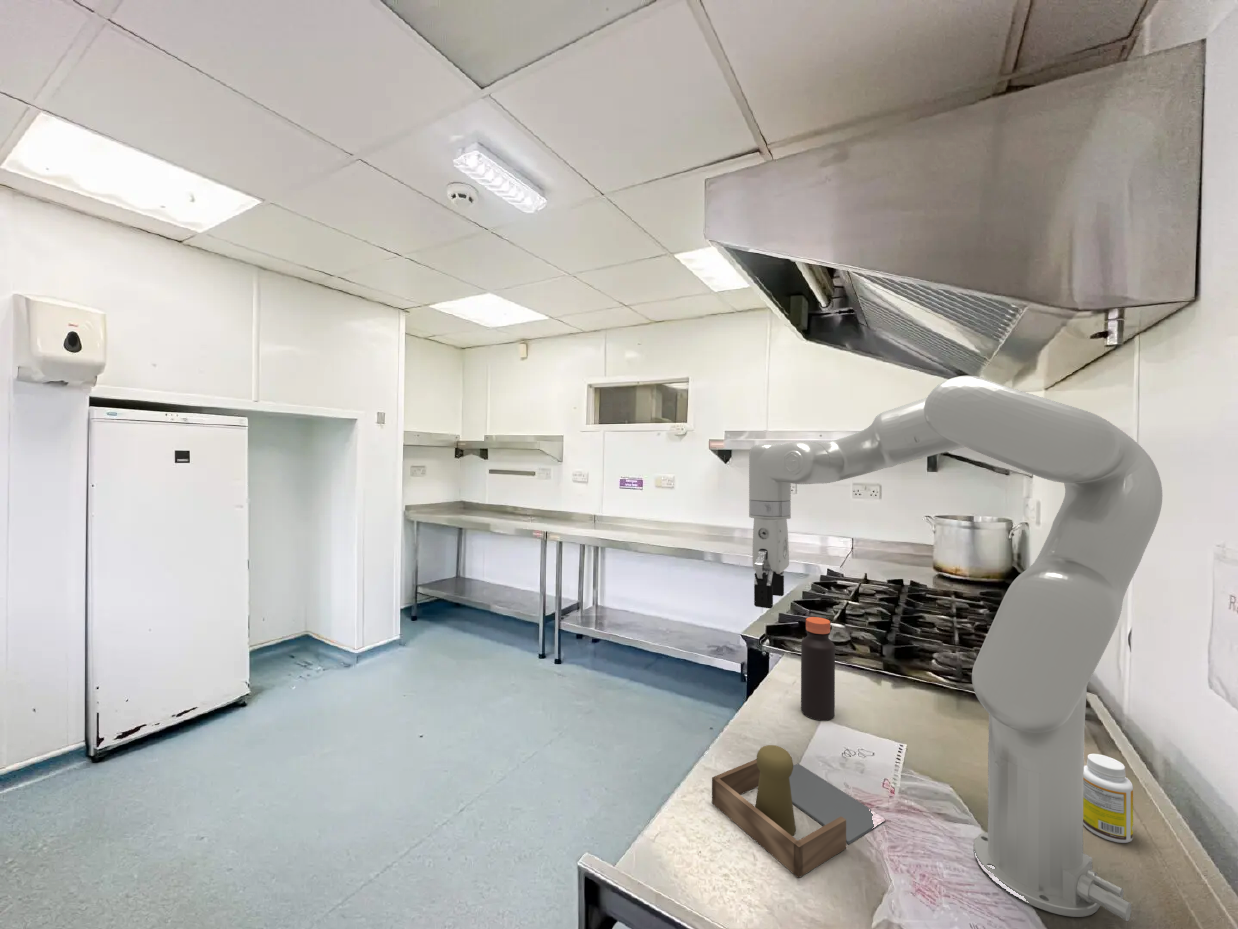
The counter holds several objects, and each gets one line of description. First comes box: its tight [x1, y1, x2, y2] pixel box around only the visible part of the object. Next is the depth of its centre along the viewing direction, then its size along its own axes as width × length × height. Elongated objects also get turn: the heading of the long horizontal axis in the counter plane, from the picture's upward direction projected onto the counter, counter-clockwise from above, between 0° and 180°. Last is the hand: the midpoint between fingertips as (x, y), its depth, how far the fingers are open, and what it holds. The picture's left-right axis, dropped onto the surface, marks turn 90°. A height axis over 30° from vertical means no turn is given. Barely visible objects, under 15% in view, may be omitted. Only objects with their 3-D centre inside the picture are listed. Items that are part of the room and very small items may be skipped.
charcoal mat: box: [789, 763, 874, 845], centre depth 79 cm, size 16×9×1 cm, turn 31°
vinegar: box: [800, 616, 836, 722], centre depth 107 cm, size 7×7×20 cm
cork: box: [754, 744, 797, 837], centre depth 74 cm, size 6×6×11 cm
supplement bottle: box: [1083, 753, 1134, 844], centre depth 73 cm, size 6×6×10 cm
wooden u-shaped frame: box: [711, 758, 847, 879], centre depth 74 cm, size 17×10×4 cm, turn 31°
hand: (769, 600), depth 94 cm, fingers open, 9 cm apart
